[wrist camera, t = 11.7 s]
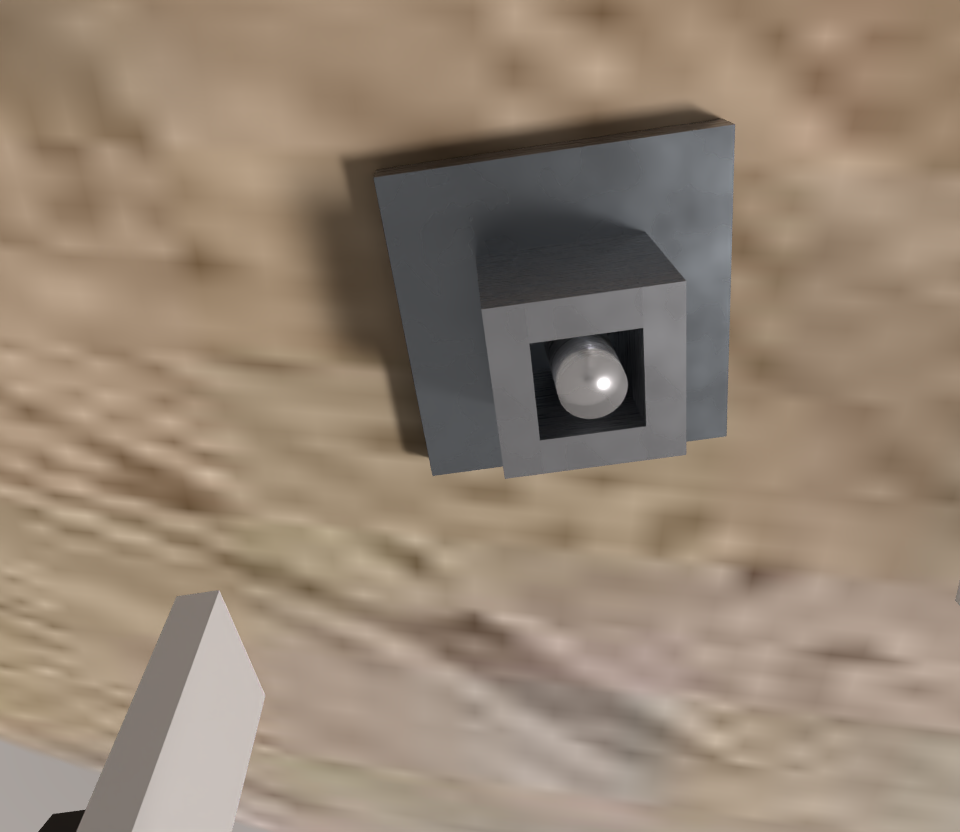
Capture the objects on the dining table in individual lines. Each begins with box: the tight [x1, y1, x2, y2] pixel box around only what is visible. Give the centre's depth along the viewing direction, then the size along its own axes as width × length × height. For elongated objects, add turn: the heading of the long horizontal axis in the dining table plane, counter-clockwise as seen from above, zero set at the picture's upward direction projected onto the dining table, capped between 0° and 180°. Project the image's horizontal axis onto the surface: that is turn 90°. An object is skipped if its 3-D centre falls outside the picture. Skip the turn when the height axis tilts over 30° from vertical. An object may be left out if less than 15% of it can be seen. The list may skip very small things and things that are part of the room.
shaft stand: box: [374, 119, 735, 476], centre depth 31 cm, size 14×14×8 cm
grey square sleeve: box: [475, 232, 686, 479], centre depth 30 cm, size 7×7×6 cm
